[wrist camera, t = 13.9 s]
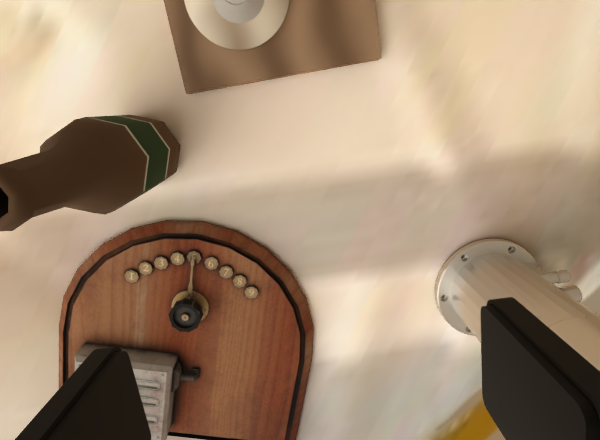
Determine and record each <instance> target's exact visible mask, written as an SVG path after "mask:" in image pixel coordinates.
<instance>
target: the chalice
mask: <svg viewBox="0 0 600 440" xmlns="http://www.w3.org/2000/svg"><path fill="white" fill-rule="evenodd" d="M212 2H213V4H214V6H215V8H216V10H217V12H218V13H219V14H220V15H221V16H222V17H223V18H224V19H226V20H228V21H230V22H233V23H238V24H239V23H246V22H248V21H250V20H252V19H254V18H255V17H256V16H257V15H258V14H259V13H260V11H261V9H262V7H263V5H264V0H212Z"/></svg>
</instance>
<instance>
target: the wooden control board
mask: <svg viewBox="0 0 600 440" xmlns="http://www.w3.org/2000/svg"><path fill="white" fill-rule="evenodd" d="M115 346H118V347H120V348H121V349H122V351H126V352H127V353H128V355H129V358H130V361H131V365H132V368H133V372H134V375H135V379H136V382H137V386H138V389H139V393H140V397H141V400H142V404H143V407H144V411H145V414H146V418H147V421H148V425H149V428H150V432H151V440H166V438H167V435H169V436H178V437H187V438H197V439H206V440H296V436H297V431H298V426H299V421H300V416H301V411H302V406H303V401H304V396H305V391H306V386H307V381H308V376H309V371H310V366H311V360H312V348H313V324H312V320H311V316H310V312H309V309H308V305H307V301H306V297H305V296H304V294H303V292H302V291H301V289H300V287H299V286H298V284H297V282H296V280H295V279H294V277H293V275H292V274H291V272H290V271H289V270H288V269H287V268H286V267H285V266H284V265H283V264H282V263H281V262H280V261H279V260H278V259H277V258H276V257H275V256H274V255H273V254H272V253H271V252H270V251H269V250H268V249H267V248H265V247H264V246H262V245H260V244H258V243H257V242H255V241H253V240H251V239H250V238H248V237H246V236H244V235H242V234H241V233H239V232H237V231H235V230H231V229H228V228H224V227H220V226H217V225H213V224H209V223H206V222H202V221H162V222H157V223H153V224H149V225H145V226H140V227H136V228H132V229H130V230H128V231H126V232H125V233H123V234H121V235H119V236H117V237H115V238H114V239H112V240H110V241H108V242H106V243H105V244H103V245H101V246H100V247H99V248H98V249H97V250H96V251H95V252H94V253H93V254H92V255H91V256H90V257H89V258H88V259H87V260H86V261H85V262H84V263H83V264H82V265H81V266H80V267H79V268H78V269H77V271H76V273H75V275H74V277H73V279H72V281H71V283H70V285H69V287H68V289H67V291H66V293H65V295H64V298H63V304H62V310H61V317H60V323H59V389H60V388H61V387H62V385H63V384H64V383H65V382H66V381H67V380H68V379H69V377H70V376H71V375H72V374H73V373H74V372H75V371H76V369H77V368H78V367H79V366H80V365H81V364H82V363H83V362H84V360H85V359H86V358H87V357H88V356H89V355H90V354H91V352H92V351H93V350H95V349H99V348H107V347H115Z"/></svg>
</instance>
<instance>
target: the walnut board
mask: <svg viewBox="0 0 600 440" xmlns="http://www.w3.org/2000/svg"><path fill="white" fill-rule="evenodd" d="M164 3H165V7H166V11H167V16H168V20H169V24H170V28H171V32H172V36H173V41H174V45H175V49H176V53H177V57H178V62H179V66H180V70H181V74H182V78H183V82H184V87H185V91H186V93H187V94H192V93H197V92H203V91H208V90H214V89H219V88H225V87H231V86H236V85H242V84H247V83H253V82H258V81H264V80H269V79H275V78H280V77H286V76H291V75H297V74H302V73H308V72H313V71H319V70H325V69H330V68H336V67H341V66H347V65H352V64H358V63H363V62H369V61H374V60H379V59H380V58H381V52H380V43H379V33H378V24H377V15H376V5H375V0H264V5H263V7H262V9H261V11H260V13H259V14H258V15H257V16H256V17H255V18H254V19H252V20H250V21H248V22H246V23H239V24H238V23H233V22H230V21H228V20H226V19H224V18H223V17H222V16H221V15H220V14H219V13H218V12H217V10H216V8H215V6H214V4H213V2H212V0H164Z"/></svg>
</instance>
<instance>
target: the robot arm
mask: <svg viewBox="0 0 600 440" xmlns="http://www.w3.org/2000/svg"><path fill="white" fill-rule="evenodd" d="M462 255H463V256H462ZM461 256H462V257H461ZM569 281H570V274H569V272H568V271H567V270H560V271H554V272H552V273H547V272H545V271H543V270H541V269H540V268H539V267H538V264H537V262H536V260H535V259H534V258H533V256H532V255H531V254H530V253H529V252H528V251H527V250H525V249H524V248H522V247H521V246H519V245H518V244H515V243H513V242H511V241H508V240H503V239H483V240H478V241H475V242H473V243H470V244H468V245H466V246H464V247H462V248H461V249H459V250H458V251H457V252H455V253H454V254H453V255H452V256H451V257H450V258H449V259H448V260H447V261H446V262H445V264H444V265H443V267H442V269H441V270H440V272H439V275H438V278H437V280H436V286H435V299H436V303H437V307H438V309H439V311H440V313H441V315H442V316H443V317H444V319H445V320H446V321H447V322H448V323H449V324H450V325H451V326H452V327H453V328H455V329H456V330H458V331H460V332H462V333H465V334H467V335H472V336H476V338H477V339H478V340H479V341H480V343H481V354H482V394H483V400H484V404H485V406H486V409H487V410H488V412H489V414H490V415H491V417H492V419H493V420H494V422H495V423H496V425H497V426H498V428H499V430H500V431H501V433H502V434H503V436H504V437H505V439H506V440H600V315H598V314H597V313H595V312H594V311H592V310H591V309H589V308H587V307H586V306H585V305H583V304H582V303H580V301H581V300H582V293H581V291H580V289H579V288H578V287H577V286H575V285H573V286H567V287H561V288H558V287H556V286H555V285H553V284H554V283H563V282H569ZM15 440H151V432H150V428H149V425H148V421H147V418H146V414H145V411H144V407H143V404H142V400H141V397H140V393H139V389H138V386H137V382H136V379H135V375H134V372H133V368H132V365H131V361H130V358H129V355H128V353H127V352H126V351H122V349H121V348H120V347H118V346H115V347H107V348H99V349H95V350H93V351H92V352H91V354H90V355H89V356H88V357H87V358H86V359H85V360H84V362H83V363H82V364H81V365H80V366H79V367H78V368H77V369H76V371H75V372H74V373H73V374H72V375H71V376H70V377H69V379H68V380H67V381H66V382H65V383H64V384H63V385H62V387H61V388H60V389H59V390H58V391H57V392H56V393H55V395H54V396H53V397H52V398H51V399H50V400H49V401H48V403H47V404H46V405H45V406H44V407H43V408H42V409H41V411H40V412H39V413H38V414H37V415H36V416H35V417H34V418H33V420H32V421H31V422H30V423H29V424H28V425H27V426H26V428H25V429H24V430H23V431H22V432H21V433H20V434H19V436H18V437H17V438H16V439H15Z"/></svg>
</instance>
